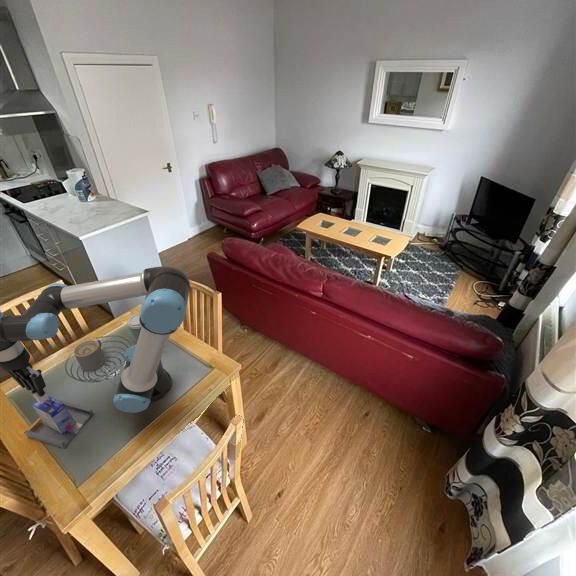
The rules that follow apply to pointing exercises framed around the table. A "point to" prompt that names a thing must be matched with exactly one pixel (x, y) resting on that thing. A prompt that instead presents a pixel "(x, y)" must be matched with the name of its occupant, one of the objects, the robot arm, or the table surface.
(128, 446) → the table surface
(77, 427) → the grey tray
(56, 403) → the ink cartridge box
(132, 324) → the disposable coffee cup
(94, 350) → the coffee mug
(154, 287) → the robot arm
